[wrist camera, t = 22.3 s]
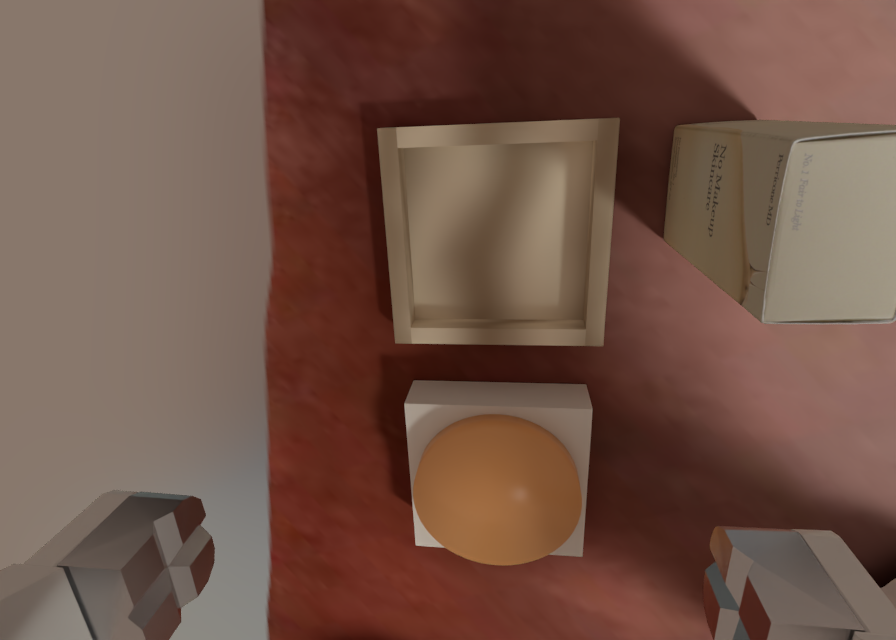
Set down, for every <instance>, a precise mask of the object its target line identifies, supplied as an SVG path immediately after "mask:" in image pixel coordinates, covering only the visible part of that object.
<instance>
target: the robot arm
mask: <svg viewBox="0 0 896 640" xmlns="http://www.w3.org/2000/svg"><path fill="white" fill-rule="evenodd" d="M205 516H206V514H205V511H204V508H203V504H202V501H201V499H199V498H196V497H194V496H187V495H175V494H162V493H151V492H131V491H120V490H113V491H110V492H107V493H104V494H102V495H101V496H99V498H97V499H96V500H95V501H94V502H93V503H92V504H90V505H89V506H88V507H87V508H86V509H85V510H84V511H83V512H82V513H80V514H79V515H78V516H77V517H76V518H75V519H74V520H72V521H71V522H70V523H69V524H68V525H67V526H66V527H64V528H63V529H62V530H61V531H60V532H59V533H58V534H57V535H55V536H54V537H53V538H52V539H51V540H50V541H49V542H48V543H46V544H45V545H44V546H43V547H42V548H41V549H40V550H38V551H37V552H36V553H35V554H34V555H33V556H32V557H31V558H29V559H28V560H27V561H26V562H25V563H24V564H12V565H11V566H8V567H6V568H4V569H2V570H0V640H169V639H170V637H171V636H172V634H173V633H174V631H175V630H176V628H177V627H178V625H179V624H180V623H181V608H182V607H183V606H185V605H186V604H188V603H189V602H191V601H192V600H194V599H195V598H197V597H198V596H199V594H200V593H201V591H202V590H203V588H204V587H205V585H206V584H207V582H208V580H209V577H210V574H211V571H212V568H213V564H214V553H215V551H214V550H215V548H214V544H213V539H212V536H211V535H210V534H209V533H208V532H207V531H206V530H205V529H204V528H203V527H202V526H201V523H202V521H203V520H204V518H205ZM709 547H710V550H711V552H712V554H713V556H714V559H715V562H714V563H713V564H712V565H711V566H709V567H708V568H707V569H706V570H705V574H704V582H703V599H704V609H705V614H706V618H707V622H708V626H709V628H710V631H711V634H712V637H713V640H896V578H895V579H894V580H892V581H891V582H890V583H888V584H887V585H886V586H884V587H882V588H880V587H879V586H878V585H877V583H876V582H875V581H874V580H873V578H872V577H871V576H870V574H869V573H868V572H867V571H866V569H865V568H864V567H863V565H862V564H861V563H860V562H859V560H858V559H857V558H856V556H855V555H854V554H853V553H852V551H851V550H850V549H849V547H848V546H847V545H846V544H845V542H844V541H843V540H842V538H841V537H840V536H838V535H837V534H835V533H834V532H832V531H830V530H805V529H791V530H787V529H771V528H751V527H731V526H716V527H715V529H714V531H713V532H712V535H711V540H710V546H709Z"/></svg>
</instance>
